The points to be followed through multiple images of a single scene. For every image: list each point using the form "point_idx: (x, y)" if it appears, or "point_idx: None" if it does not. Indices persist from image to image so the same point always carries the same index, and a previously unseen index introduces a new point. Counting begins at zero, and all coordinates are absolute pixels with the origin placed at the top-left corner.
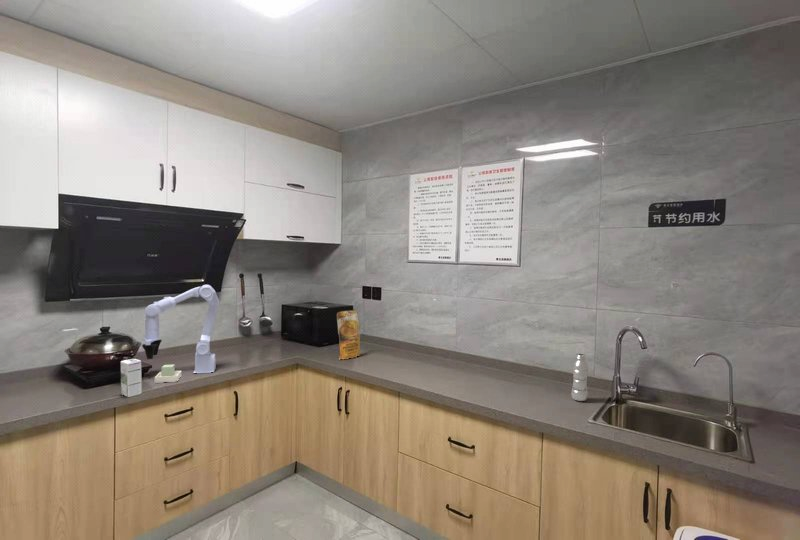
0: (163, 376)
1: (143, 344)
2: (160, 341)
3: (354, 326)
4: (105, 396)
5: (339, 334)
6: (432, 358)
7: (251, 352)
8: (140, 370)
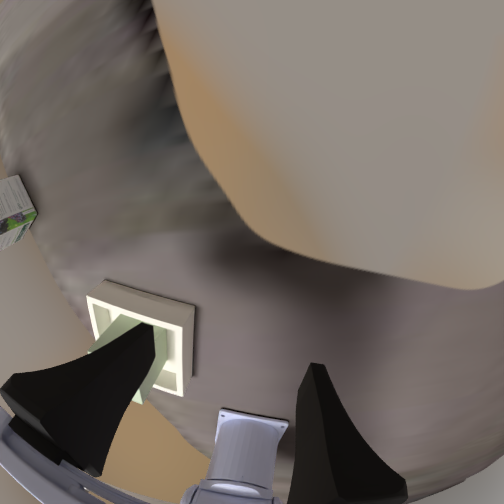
0: (96, 328)
1: (25, 413)
2: None
3: None
4: (19, 125)
5: None
6: None
7: (405, 480)
8: None
